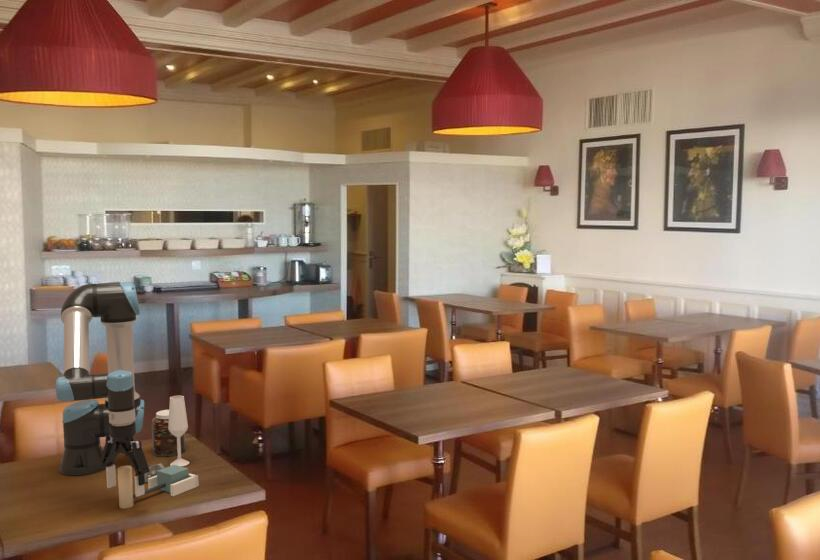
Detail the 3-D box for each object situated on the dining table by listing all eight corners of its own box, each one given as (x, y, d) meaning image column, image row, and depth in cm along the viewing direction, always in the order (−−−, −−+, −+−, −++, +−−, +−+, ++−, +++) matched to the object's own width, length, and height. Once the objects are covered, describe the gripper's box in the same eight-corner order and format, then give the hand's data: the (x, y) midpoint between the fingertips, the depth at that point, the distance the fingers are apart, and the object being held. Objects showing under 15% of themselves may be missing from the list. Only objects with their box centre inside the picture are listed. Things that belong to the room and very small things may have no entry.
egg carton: (138, 475, 265) (138, 463, 265) (161, 471, 269) (160, 459, 269) (144, 484, 256) (143, 472, 256) (167, 480, 260) (167, 468, 259)
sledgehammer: (113, 505, 238) (111, 467, 236) (174, 482, 257) (173, 447, 256) (128, 510, 234) (126, 471, 233) (189, 486, 253) (187, 450, 252)
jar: (191, 451, 289) (189, 411, 288) (162, 459, 281) (160, 418, 279) (175, 444, 297) (173, 406, 296) (146, 452, 289) (144, 412, 288)
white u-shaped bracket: (148, 489, 251) (147, 478, 251) (173, 479, 260) (173, 469, 260) (173, 496, 245) (172, 485, 244) (198, 486, 253) (198, 475, 253)
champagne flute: (166, 463, 276) (163, 397, 274) (184, 459, 280) (181, 393, 278) (175, 468, 271) (172, 400, 269) (192, 463, 275) (190, 397, 273)
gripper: (85, 419, 238) (89, 486, 240) (138, 432, 225) (142, 503, 227) (107, 414, 245) (110, 479, 247) (159, 425, 231) (162, 494, 233)
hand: (125, 491), depth 237 cm, fingers open, 13 cm apart
